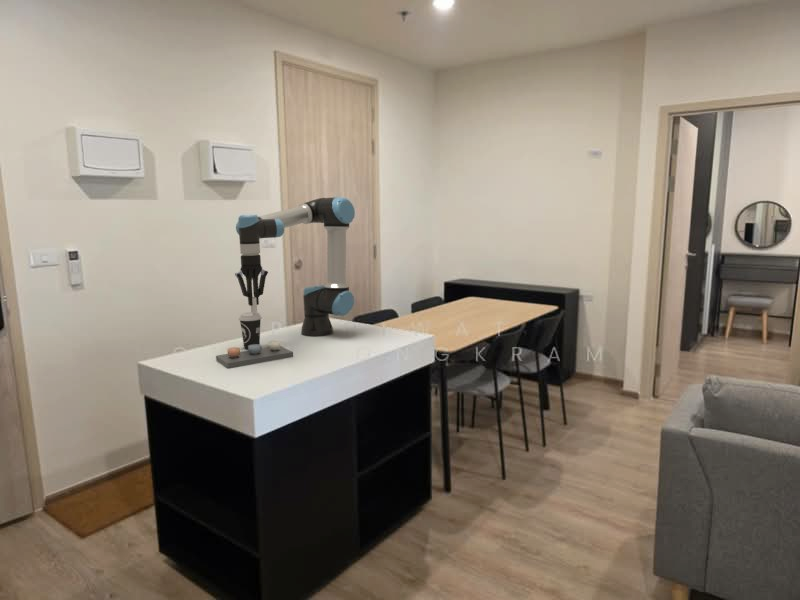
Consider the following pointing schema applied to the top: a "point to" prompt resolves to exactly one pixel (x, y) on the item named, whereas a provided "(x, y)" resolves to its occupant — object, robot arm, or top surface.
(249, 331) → the coffee cup
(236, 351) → the button terracotta
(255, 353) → the button blue
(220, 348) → the top surface
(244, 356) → the panel
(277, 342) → the button cream
